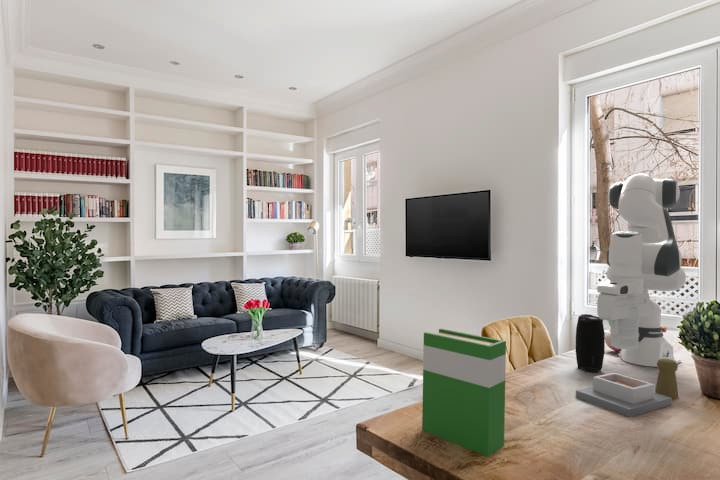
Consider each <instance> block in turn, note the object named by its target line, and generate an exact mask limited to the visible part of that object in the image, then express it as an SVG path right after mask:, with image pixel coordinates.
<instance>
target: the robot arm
mask: <svg viewBox="0 0 720 480" xmlns="http://www.w3.org/2000/svg"><path fill="white" fill-rule="evenodd" d="M608 190H609V191H608V193H607V200H608V202H609V205H610V206H611V207H612V208H613V209H615V210H618V213H619V215H620V217H622V219H623V220H624V221H626V222H627V230H618V231H615V232H613V233H612V234H611V237H610V242H609V247H608V248H607V250H606V264H607V266H608V268H607V270H606V278H607V279H606V280H604V281H603V282H601V283H599V284H598V285H597V290H596V291H597V293H599V294H598V295H597V303H596V305H597V309H596V310H597V317H599V318H600V319H602V320H603V321H607V323H608V325H609V327H610V330H611V334H613V335H618V334H620V329H619V328H618V325H617V323H618V320H620V319H627V318H629V308H635V307H636V308H638V309H639V321H638V322H639V323H638V349H621V351H620V352H617V353H618V354H617V356H618V357H620V359H621V360H622V361H624V362H626V363H629V364H632V365H638V366H645V367H653V368H654V367H656V368H658V367H657V362H658V360H659V359H670V360H673V361H675V362H676V363H677V365H678V364H680V363H681V361H682V360H681V358H678V357H675V356H674V347H673V345H672V344H671V343H670V342H668V340H667V339H665V337H664V333H667V330H668V329H667V327H665V326H661V323H662V322H661V317H662V316H661V315H662V313H661V312H662V308H661V307H660V305H659V304H658V303H657V302H656V301H655V300H652V299H651V297H650V294H649V292H648V291H653V292H657V291H658V292H672V291H679V290H680V289H682V288H683V287H684V285H685V283H686V279H687V276H686V272H685V270H684V269H683V268H682V262H683V259H682V257H683V256H682V253H681V250H680V248H679V246H678V243H677V240H676V239H677V238H676V235H675V231H674V226H673V222H672V219H671V216H670V212H669V210H668V209H670V208H672V207H674V206H675V205H676V204H677V203H678V200H679V198H680V194H681V191H680V187H679V184H678V183H677V181H676V180H675V179H672V178H663V179H662V178H654V177H652V176H650V175H648V174H645V173H636V174H633V175H631V176H629V177H628V178H627V179H626V180H625V181H619V182H618V181H617V182H615V183H613V184H612V185H610V188H609V189H608Z"/></svg>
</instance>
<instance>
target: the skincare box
mask: <svg viewBox="0 0 720 480" xmlns="http://www.w3.org/2000/svg"><path fill="white" fill-rule="evenodd" d="M638 321H639V309H638V308H636V307H635V308H629V318H627V319H620V320H618V323H617V325H618V328H619V329H620V334H618V335H613V334H611V346H613V347H615V348H617V349H638V323H639V322H638Z"/></svg>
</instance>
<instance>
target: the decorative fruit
mask: <svg viewBox="0 0 720 480" xmlns="http://www.w3.org/2000/svg"><path fill="white" fill-rule="evenodd" d="M605 344H606V346H607V347H608V348H609V349H610V350H612V351H614V352H615V353H621V349H617V348H615V347H613V346H611V329H610V330H609V332H607V333H606V334H605Z"/></svg>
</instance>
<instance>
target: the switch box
mask: <svg viewBox="0 0 720 480" xmlns="http://www.w3.org/2000/svg"><path fill="white" fill-rule="evenodd" d="M592 379H593V380H592V381H593V383H592V386H589V387H585V388H581V389H576V390H575V397H576V398H577V399H579V400H580V399H581V400H583V401H586V402H588V403H591V404H594V405H597V406H599V407H602V408H605V409H608V410H610V411H612V412H615V413H618V414H621V415H623V416H626V417H629V418H630V417H634V416H637V415H641V414H645V413H648V412H651V411H655V410H658V409H662V408H665V407H668V406H672V400H673V399H672V398H671V397H667V396H664V395H661V394H658V393H655V388H656V385H655V384H654V383H651V382H647V381H645V380H641V379H638V378H634V377H631V376H627V375H625V374H621V373H618V372H610V373H604V374H600V375H599V374H598V375H596V376H593V378H592ZM615 382H620V383H623V384H626V385H629V386H633V387H634V388H631V387H628V386H625V385H622V384H618V383H615Z"/></svg>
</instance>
